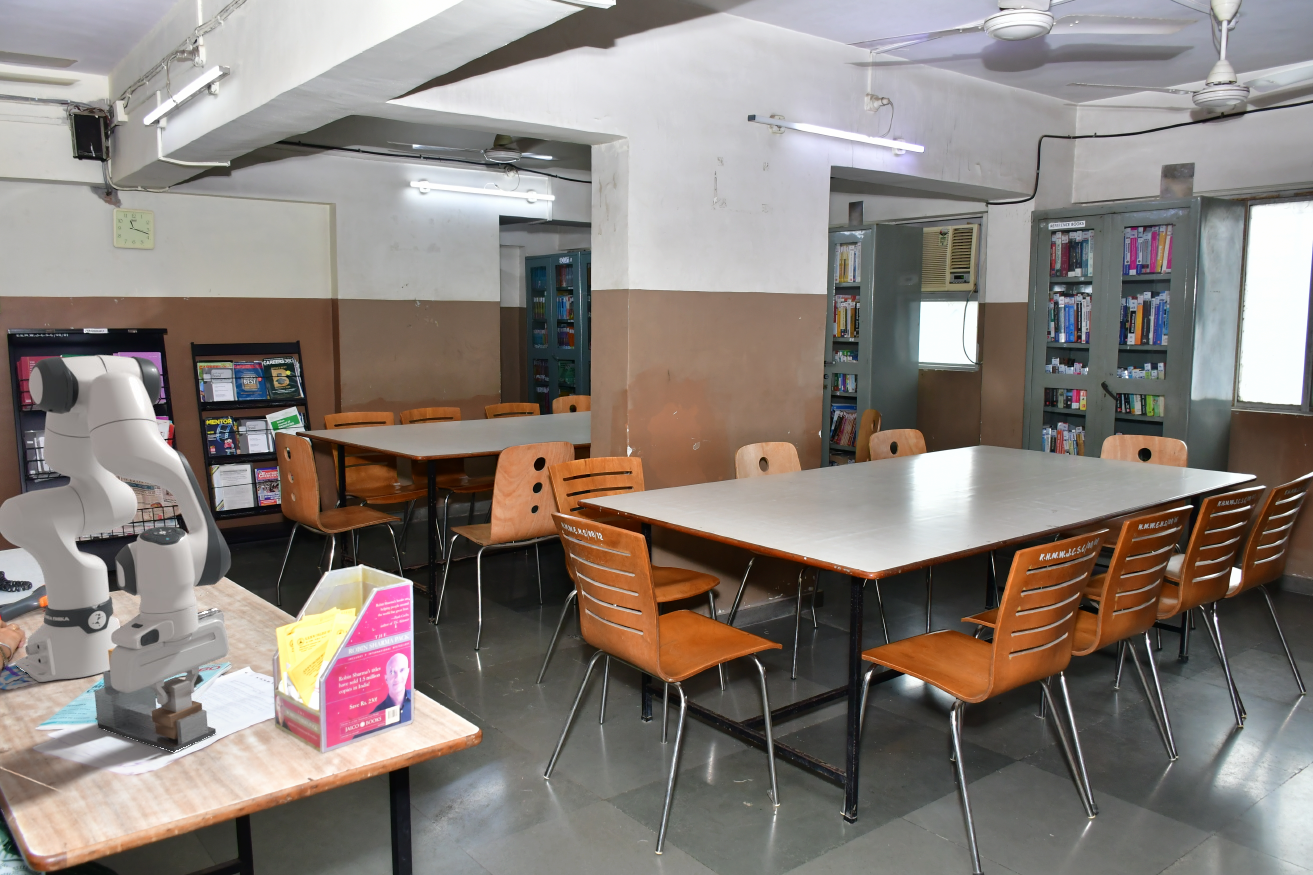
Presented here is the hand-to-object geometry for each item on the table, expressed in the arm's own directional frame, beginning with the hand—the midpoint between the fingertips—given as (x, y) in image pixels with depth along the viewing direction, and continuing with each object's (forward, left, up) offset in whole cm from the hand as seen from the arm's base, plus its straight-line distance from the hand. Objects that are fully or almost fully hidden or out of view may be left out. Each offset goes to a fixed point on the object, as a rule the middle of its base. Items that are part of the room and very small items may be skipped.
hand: (176, 698), depth 162 cm
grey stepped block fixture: (-7, 0, -7) cm, 10 cm away
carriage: (0, 0, -6) cm, 6 cm away
